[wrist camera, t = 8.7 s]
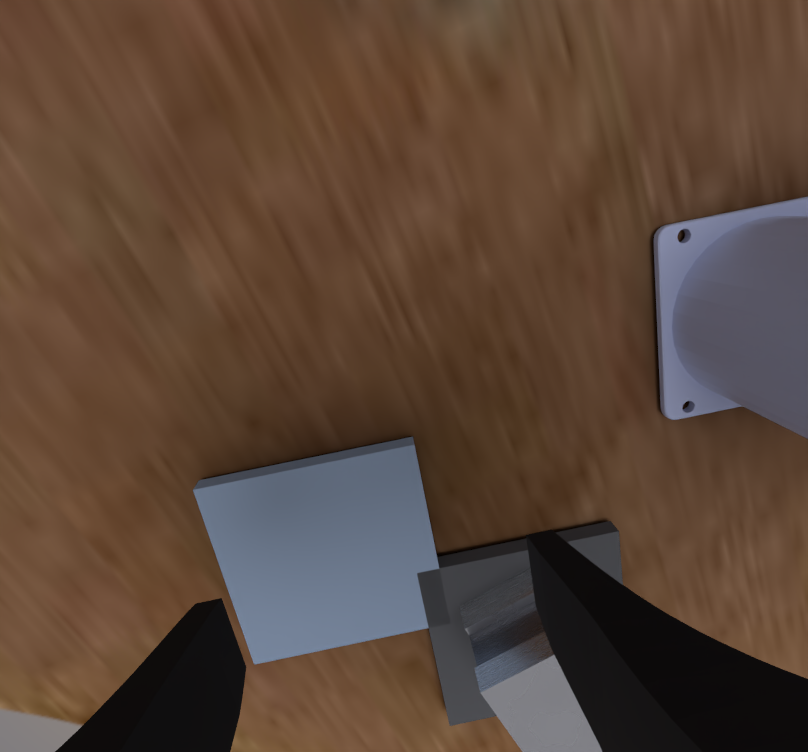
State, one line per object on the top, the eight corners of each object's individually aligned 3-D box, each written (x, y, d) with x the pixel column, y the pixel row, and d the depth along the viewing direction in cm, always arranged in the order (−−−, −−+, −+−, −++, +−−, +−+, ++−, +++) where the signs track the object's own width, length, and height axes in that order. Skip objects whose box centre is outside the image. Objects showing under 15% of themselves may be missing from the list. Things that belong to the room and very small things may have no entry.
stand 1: (412, 436, 22) (414, 444, 21) (447, 610, 24) (450, 623, 24) (199, 480, 22) (192, 490, 21) (257, 650, 24) (254, 664, 24)
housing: (592, 654, 25) (640, 745, 21) (518, 691, 25) (549, 789, 21) (538, 563, 23) (578, 642, 19) (459, 605, 23) (480, 693, 19)
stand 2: (610, 520, 24) (618, 531, 23) (622, 673, 26) (630, 687, 26) (415, 561, 24) (416, 573, 23) (447, 710, 26) (449, 725, 25)
